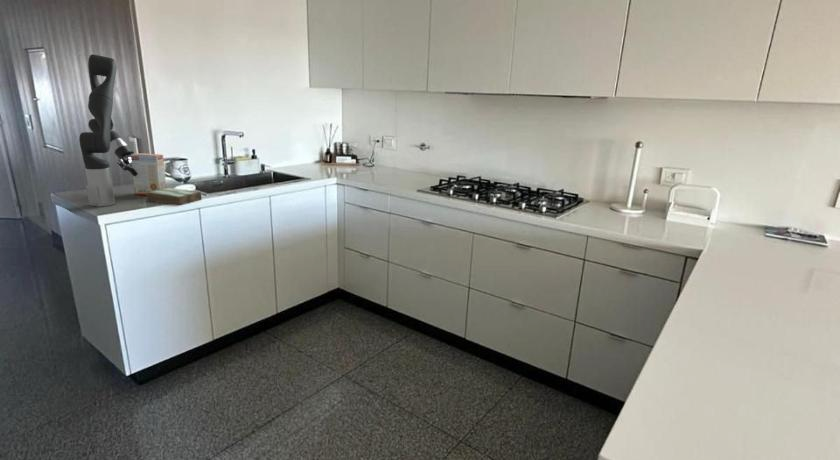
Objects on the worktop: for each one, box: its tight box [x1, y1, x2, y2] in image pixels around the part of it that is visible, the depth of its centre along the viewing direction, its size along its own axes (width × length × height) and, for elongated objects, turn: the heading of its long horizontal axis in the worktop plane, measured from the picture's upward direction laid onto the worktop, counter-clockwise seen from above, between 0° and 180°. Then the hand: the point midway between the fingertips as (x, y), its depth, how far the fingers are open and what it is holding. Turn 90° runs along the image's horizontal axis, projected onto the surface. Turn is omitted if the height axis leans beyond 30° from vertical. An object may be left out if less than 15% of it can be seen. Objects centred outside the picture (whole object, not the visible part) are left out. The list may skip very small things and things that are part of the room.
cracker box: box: [131, 152, 167, 196], centre depth 234 cm, size 14×6×21 cm, turn 83°
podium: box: [146, 187, 202, 206], centre depth 227 cm, size 14×20×4 cm
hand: (141, 174), depth 234 cm, fingers closed on cracker box, 6 cm apart
